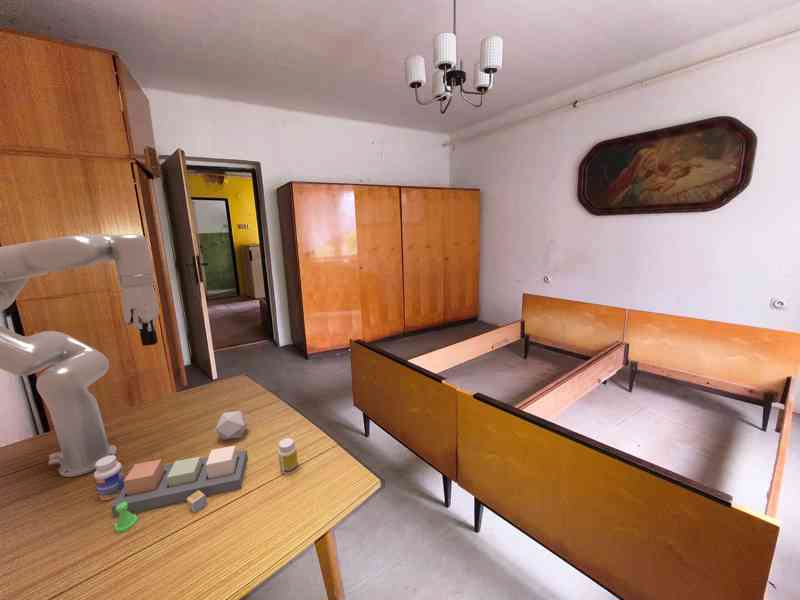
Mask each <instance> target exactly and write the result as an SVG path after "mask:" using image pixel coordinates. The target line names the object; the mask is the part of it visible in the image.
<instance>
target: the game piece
mask: <svg viewBox="0 0 800 600" xmlns="http://www.w3.org/2000/svg"><path fill="white" fill-rule="evenodd" d="M127 507H128V503H126V502H122V503H120V504H118V505H117V507H116V511H117V512H119V513H120V514H119V516H118V519H117V522H116V523H115V524H114V530H115V533H125V532H126V531H128V530H131V529H132V528H133V527H134V526H136V524H137V523H138V522H139V520H138V517H137V515H136V513H135V514H134V513H130V512H129V511H128V510H126V509H127Z"/></svg>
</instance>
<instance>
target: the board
mask: <svg viewBox="0 0 800 600" xmlns="http://www.w3.org/2000/svg"><path fill="white" fill-rule="evenodd" d="M236 453H237V460H238V461H237V465H236V469H235V473H234V474H232V475H227V476H222V477H217V478H213V479H208V474H207V469H206V463H207V460H208V458H209V456H206V457H200V458H201V463H202V470H201V473H200V475H199V478H198V480H197V482H193V483H189V484H184V485H179V486H174V487H169V485H168V480H167V476H168V474H169V472H170V471H171V469H172V467H173V465H174V463H170V464H165V465H164V464H163V468H164V473H165V476H164V477H163V479H162V481H161V483H160V485H159V487H158V489H157V490H155V491H150V492H145V493H141V494H136V495H131V496H127V493H126V489H125V486H124V488H123V489H122V491H121V492H120V494H119V495H118V496H117V497H115V500H114V501H113V503H112V505H111V506H110V508H111V511H112V515H113V518H116V517H119V514H120V513H119V512H117V511H116V507H117V505H118V504H120V503H122V502H126V503H128V507H127V509H126V510H128V511H129V512H130V513H131V514H134V513H139V512H144V511H148V510H152V509H156V508H157V509H158V508H160V507H162V508H163V507H164V506H165V507H166V506H170V505H174V504H179V503H184V502H187V498H188V497H189V496H191V495H192V494H194V493H195V492H197V491H198V490H199V491H201V492H202V493H203V494H204V495H205V496H206V498H207V497H211V496H215V495H220V494H224V493H229V492H234V491H237V490H241V489H242V486H243V481H244V478H245V477H244V476H245V472H246V469H247V465H248V464H247V463H248V458H249V457H248V451H247V449H244V450H238V451H237V450H236Z"/></svg>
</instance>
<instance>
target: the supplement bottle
mask: <svg viewBox="0 0 800 600" xmlns="http://www.w3.org/2000/svg"><path fill="white" fill-rule="evenodd" d="M297 454H298V453H297V446H296V445H295V441H294V439H293V438H290V437H286V438H283V439H282V440H280V441H279V443H278V461H279V469H280V473H282V474H285V475H289V474H292V473H294V472H295V471H296V470H297V469H298V467H299V463H298V455H297Z"/></svg>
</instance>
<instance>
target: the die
mask: <svg viewBox="0 0 800 600" xmlns="http://www.w3.org/2000/svg"><path fill="white" fill-rule="evenodd" d="M248 423H249V420H248V419H247V418H246V416H245V415H244V414H243V412H242V411H241V410H237V411H229V412H223V413H222V414H221V416H220V419H219V420H218V423H217V425H216V426H215V428H214V429H215V431H216V433H218V435H219V436H220V438H221V439H222V440H224V441H227V440H237V439H241V438H242V437H243V434H244V432H245V430H246V427H247V425H248Z"/></svg>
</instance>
